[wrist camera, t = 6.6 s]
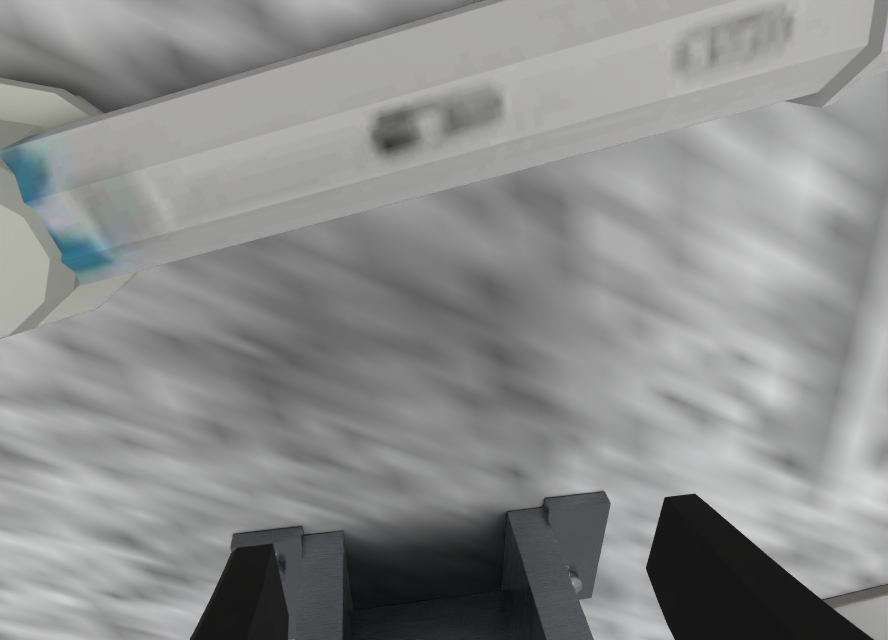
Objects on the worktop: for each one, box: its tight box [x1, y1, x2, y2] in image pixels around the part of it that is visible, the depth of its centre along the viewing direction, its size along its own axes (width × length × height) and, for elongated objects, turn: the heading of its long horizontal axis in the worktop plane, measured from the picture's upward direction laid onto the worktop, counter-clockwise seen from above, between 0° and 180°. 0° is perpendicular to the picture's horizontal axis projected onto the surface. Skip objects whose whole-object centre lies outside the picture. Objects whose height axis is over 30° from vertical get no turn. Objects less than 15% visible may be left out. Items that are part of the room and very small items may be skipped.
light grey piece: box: [0, 0, 888, 339], centre depth 13 cm, size 5×7×25 cm
